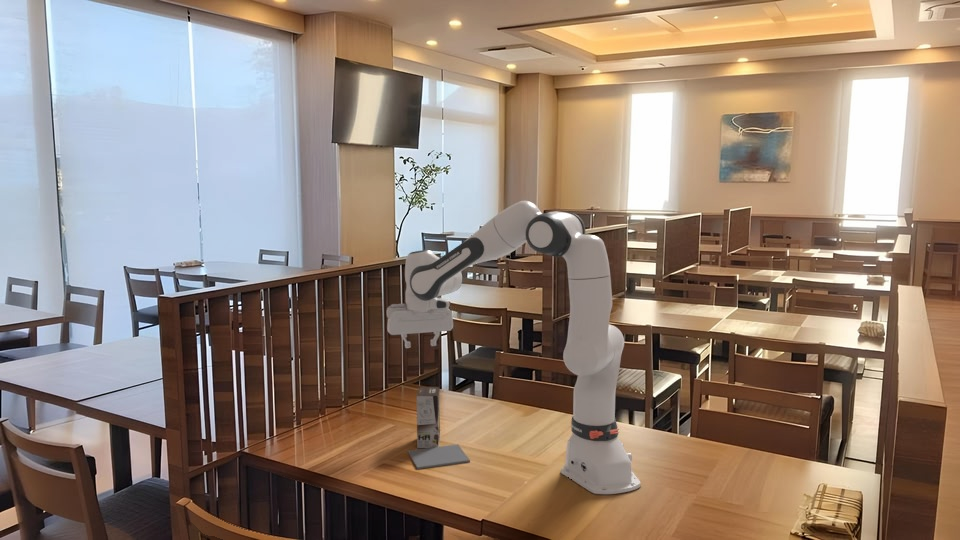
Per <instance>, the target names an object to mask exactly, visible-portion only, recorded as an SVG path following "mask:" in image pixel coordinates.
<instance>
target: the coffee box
mask: <svg viewBox="0 0 960 540" xmlns="http://www.w3.org/2000/svg"><path fill="white" fill-rule="evenodd" d="M440 413H441V409H440V386H427V387H426V386H425V387H418V390H417V392H416V437H417V438H416V441H417V442H416V443H417V445H416V447H417V449H426V448H433V447H439V444H440V439H441V421H440V420H441V417H440Z"/></svg>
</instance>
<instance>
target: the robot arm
mask: <svg viewBox="0 0 960 540" xmlns="http://www.w3.org/2000/svg"><path fill="white" fill-rule="evenodd" d="M526 243H527V244H528V246H529V247H530V248H531V249H532V250H534V251H535V252H537V253H539V254H544V255H547V256H550V257H554V258H563V259H564V260H565V262H566V268H567V279H568V280H567V281H568V282H567V283H568V290H569V291H568V292H569V293H568V294H569V321H568V328H567V329H568V330H567V338H566V344H565V347H564V350H563V355H562V358H563V363H564V364H565V367H566V368H567V369H568V370H569V371H570V372H571V373H573V374H574V375H576V376H577V377H576V378H577V379H576V382H575V385H574V387H573V400H572V401H573V403H572V404H573V409H572V411H573V413H572V414H573V415H572V417H571V421H570V427H571V429H570V430H571V432H572V433H571V436H570V437H569V438H568V440H567V442H566V451H565V461H564V462H565V463H564V465H563V466H562V467H560V468H561V469H560V473H561V474H562V475H564V476H565V477H567V478H568V477H569V478H568V479H570V480H571V479H572V480H571V481H573V482H575V483H576V484H578V485H580V486H581V487H582V488H584V489H586V490H587V491H588V492H590V493H592V494H595V495H615V494H622V493H626V492H627V493H628V492H632V491H635V490H638V489H639V488H640V487H641V486H642V483H641V481H640V479H639V478H638V477H637V476H636V474H635V473H634V472H633V470H632V460H633V456H632V453H631V452H627V451H626V450H625V446H624V443H622V442H621V440H620V438H619V433H620V432H619V430H620V429H619V428H618V423H617V420H616V417H615V416H616V415H615V414H616V389H617V384H618V380H619V379H618V378H619V373H620V365H621V360H622V359H621V358H622V353H623V350H624V347H625V338H624V335H623V333H622V331H621V330H620V329H619V328H618V327H617V326H615V325H612V324H610V317H611V313H612V312H611V311H612V308H613V291H612V280H611V279H612V278H611V270H610V262H609V261H610V260H609V258H608V256H609V255H608V253H607V248H606V245H605V242H604V241H603V239H602V238H600V237H599V236H597V235H594V234H589V233H588V234H586V226H585V223H584V221H583V219H582V218H581V217H580V216H579V215H577V214H576V213H573V212H570V211H557V210H555V211H554V210H553V211H549V212H544V213H543V212H542V211H541V209H540V208H539V207H538V206H537V204H535V203H533V202H532V201H529V200H520V201H518V202H515V203H513V204H511V205H510V206H508V207H506V208H505V209H503V210H501V211H500V212H499V213H497V214H495V216H493V217H492V218H491V219H490V220H488V221H487V222H486V223H485V224H484V225H482V226H481V227H479V229H478V230H477V231H475V232H474V233H473V234H472V235H471V236H469V237H468V238H467V239H466V240H464V241H463V242H461V243H460V244H459V245H458V246H456V247H454V248H453V249H451V250H450V251H449V252H447V253H445V254H444V255H443V256H441V257H439V256H437V255H436V254H435V253H434V252H433V250H430V249H422V250H415V251H410V253H408V254H407V256H406V258H405V264H404V265H405V266H404V278H405V279H404V280H405V283H406V284H405V285H406V288H405V293H404V295H405V303H398V304H397V303H392V304H390V305H389V306H387V308H386V318H387V324H386V325H387V326H386V329H387V331H386V332H388V333H389V335H391V336H397V335H399V336H401V338H402V340H403V341H404V347H405V349H410V348H411V347H412V344H411V341H409V340H407V338H408V334H409V335H412V334H424V333H433V335H434V337H433V338H432V339H430V346H431V347H436V346H437V341H438V339H439V337H440V334H441V333H440V332H450V331H452V330H453V329H454V319H453V313H452V310H450V304H451V303H450V302H449V301H448V299H445V298H444V297H441V296H445V295H449V294H452V293H454V292H456V291H458V290H459V289H460V288H461V286H462V284H463V279H464V278H463V277H464V276H463V272H462V271H464V270H465V269H467V268H469V267H472V266H474V265H476V264H481V263H484V262H488V261H495V260H497V259H500V258H503V257H505V256H507V255H509V254H511V253H513V252H514V251H516V250H517V249H519V248H521V247H522V246H523V245H525V244H526Z"/></svg>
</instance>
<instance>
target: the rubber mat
mask: <svg viewBox="0 0 960 540" xmlns="http://www.w3.org/2000/svg"><path fill="white" fill-rule="evenodd" d="M408 455H409V457H410V458H411V460H412V462H413V464H414V466H415V468H416V469H417V470H421V469H422V470H423V469H429V468H430V469H431V468H438V467H444V466H451V465H458V464H465V463H471V459H470V458H469V456H467V455H466V453H465V451H464V450H463V449H462V447H461V446H460V445H459V444H458V443H457V444H449V445H444V446H443V445H442V446H438V447H433V448H417V449H412V450H411V449H410V450H408Z"/></svg>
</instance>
